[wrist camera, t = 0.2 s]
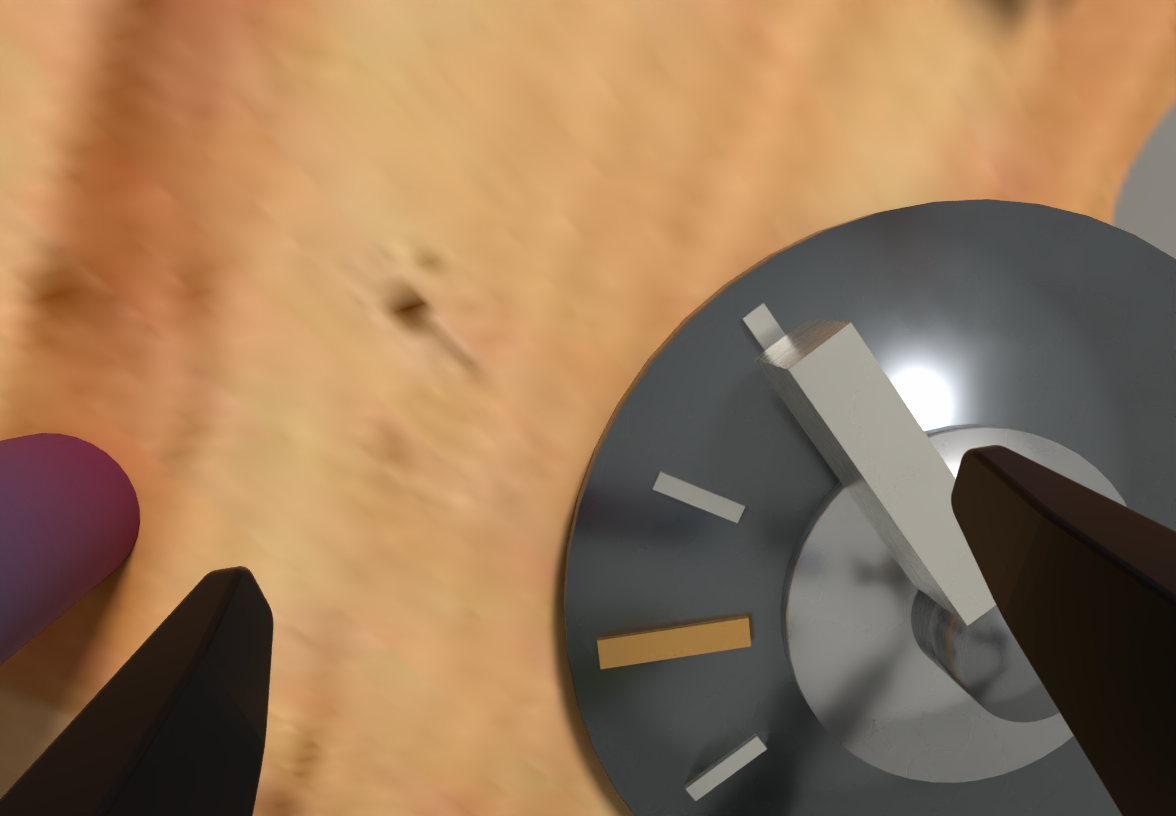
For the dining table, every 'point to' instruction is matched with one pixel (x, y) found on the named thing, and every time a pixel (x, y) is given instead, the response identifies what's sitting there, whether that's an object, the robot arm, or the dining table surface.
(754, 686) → the dial plate
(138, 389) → the dining table surface
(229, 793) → the robot arm
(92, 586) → the cup
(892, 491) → the dial
